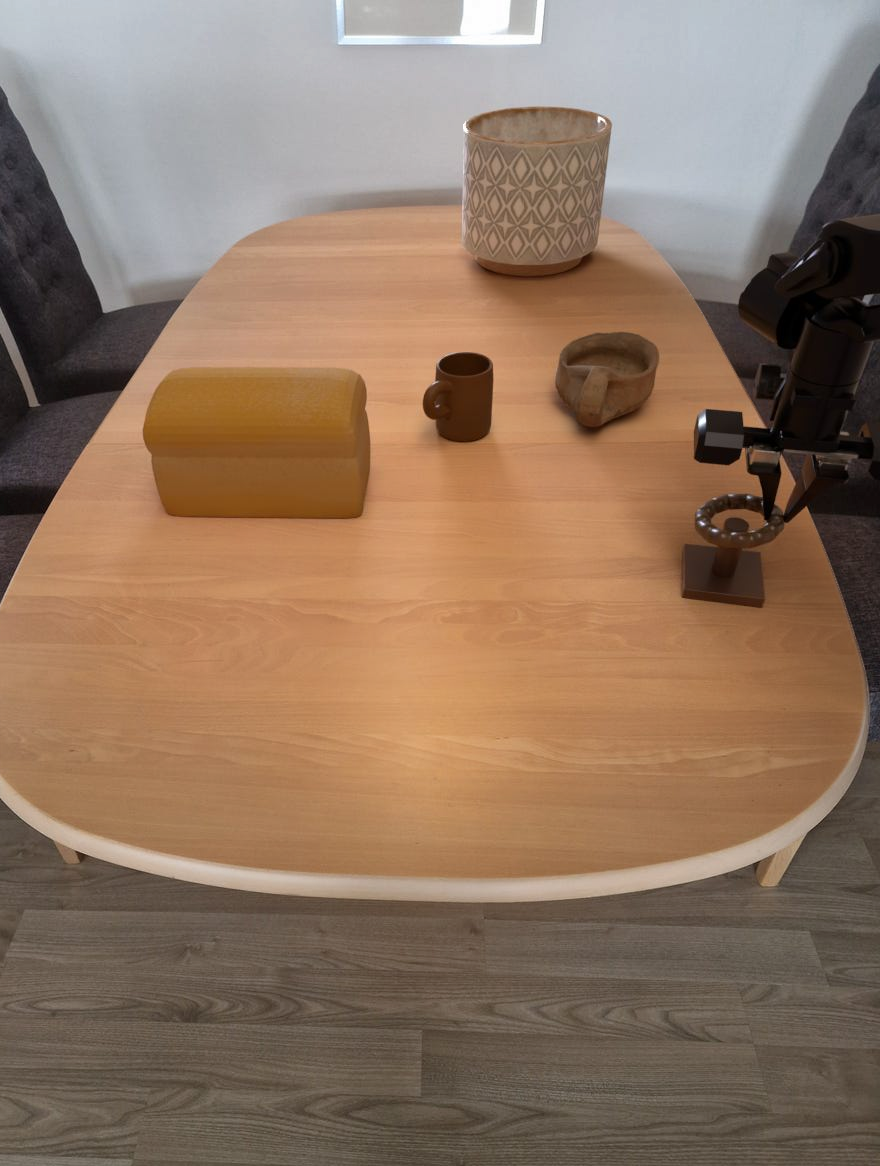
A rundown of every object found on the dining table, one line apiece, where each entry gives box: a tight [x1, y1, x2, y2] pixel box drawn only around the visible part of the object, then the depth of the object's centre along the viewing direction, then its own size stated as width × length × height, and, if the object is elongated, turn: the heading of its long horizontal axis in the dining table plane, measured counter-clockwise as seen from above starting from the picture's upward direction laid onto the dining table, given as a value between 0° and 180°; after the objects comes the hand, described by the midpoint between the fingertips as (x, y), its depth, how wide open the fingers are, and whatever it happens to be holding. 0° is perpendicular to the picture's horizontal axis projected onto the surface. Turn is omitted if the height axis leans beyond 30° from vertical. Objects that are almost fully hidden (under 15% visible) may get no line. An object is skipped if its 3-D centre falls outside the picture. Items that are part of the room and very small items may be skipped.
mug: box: [422, 351, 494, 443], centre depth 110 cm, size 12×8×9 cm, turn 140°
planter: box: [461, 106, 613, 277], centre depth 152 cm, size 26×26×22 cm
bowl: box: [554, 331, 660, 428], centre depth 113 cm, size 18×14×10 cm
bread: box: [142, 366, 371, 519], centre depth 100 cm, size 24×13×15 cm, turn 86°
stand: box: [681, 516, 766, 609], centre depth 87 cm, size 8×8×7 cm
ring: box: [694, 493, 786, 550], centre depth 84 cm, size 8×8×2 cm
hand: (775, 519), depth 83 cm, fingers closed on ring, 1 cm apart
